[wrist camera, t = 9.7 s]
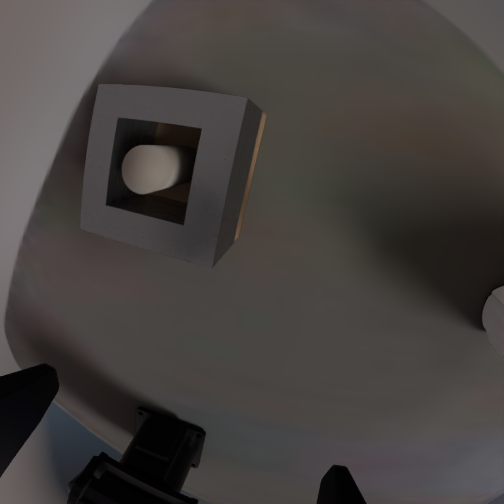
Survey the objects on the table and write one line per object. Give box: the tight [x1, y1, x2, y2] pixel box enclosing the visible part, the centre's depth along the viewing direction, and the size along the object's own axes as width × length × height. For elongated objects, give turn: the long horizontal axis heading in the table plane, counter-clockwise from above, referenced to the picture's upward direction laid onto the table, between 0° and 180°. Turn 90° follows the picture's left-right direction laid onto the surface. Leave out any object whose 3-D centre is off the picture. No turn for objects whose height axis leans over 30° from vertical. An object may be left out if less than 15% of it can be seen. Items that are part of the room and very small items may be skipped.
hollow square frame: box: [80, 84, 263, 269], centre depth 14 cm, size 7×7×4 cm
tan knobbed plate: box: [122, 112, 267, 241], centre depth 15 cm, size 7×7×6 cm
